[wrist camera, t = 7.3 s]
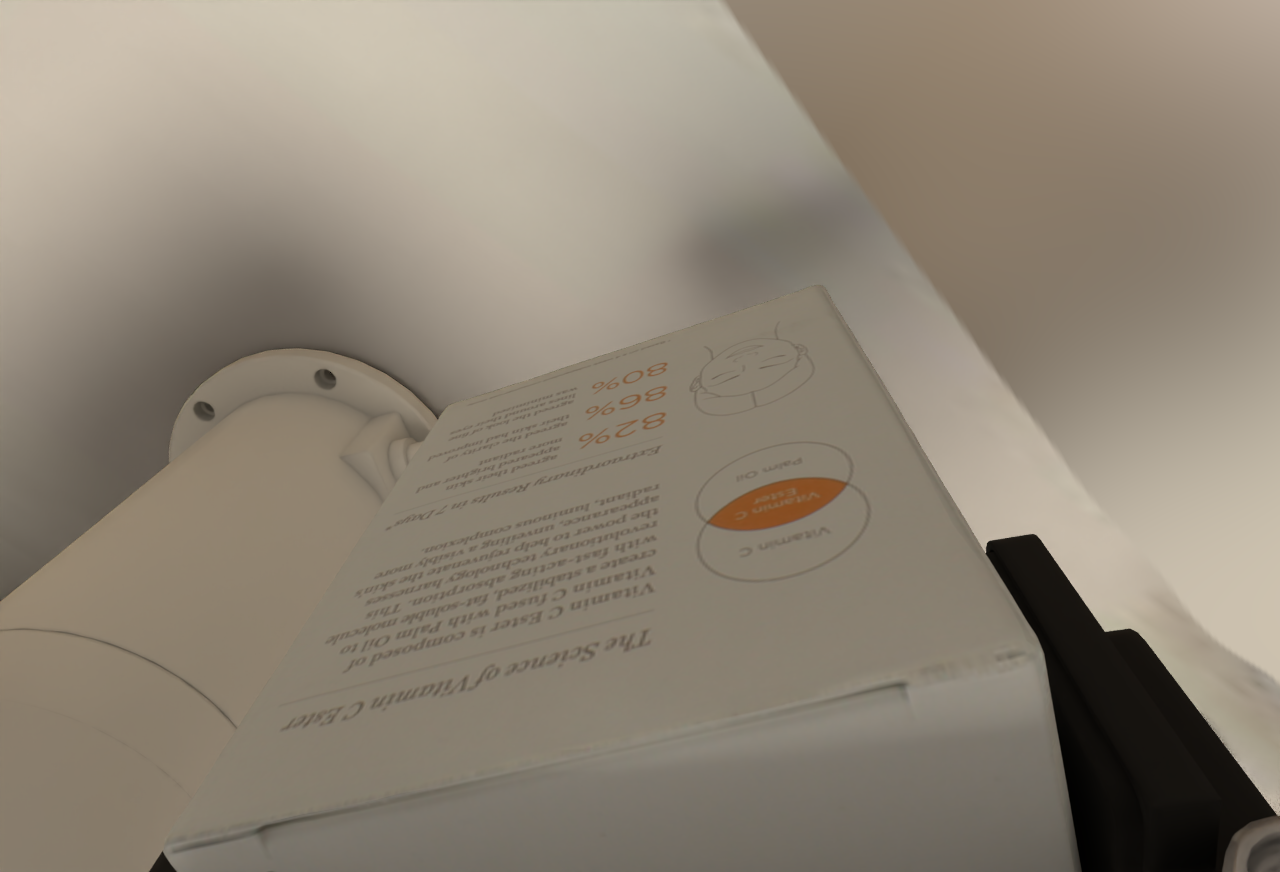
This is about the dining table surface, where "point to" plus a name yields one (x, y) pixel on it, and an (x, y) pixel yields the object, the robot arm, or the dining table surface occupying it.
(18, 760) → the robot arm
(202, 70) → the dining table surface
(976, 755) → the small box
